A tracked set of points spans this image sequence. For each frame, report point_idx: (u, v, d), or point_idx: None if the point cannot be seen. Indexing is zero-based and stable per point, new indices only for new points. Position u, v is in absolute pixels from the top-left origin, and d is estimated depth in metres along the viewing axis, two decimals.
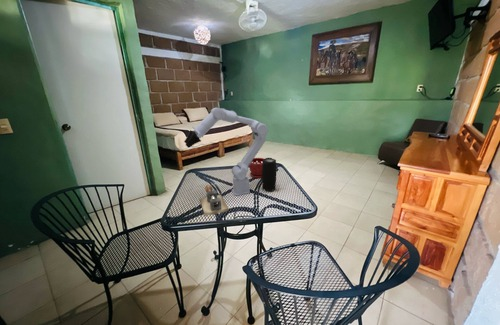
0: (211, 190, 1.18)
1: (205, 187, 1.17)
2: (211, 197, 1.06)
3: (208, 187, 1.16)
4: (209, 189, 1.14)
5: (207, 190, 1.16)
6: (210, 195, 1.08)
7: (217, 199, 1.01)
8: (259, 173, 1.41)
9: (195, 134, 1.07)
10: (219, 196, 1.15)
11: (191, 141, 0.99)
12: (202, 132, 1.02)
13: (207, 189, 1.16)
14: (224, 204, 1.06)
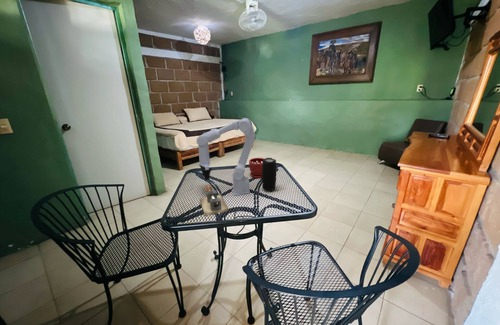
0: (211, 190, 1.18)
1: (205, 187, 1.17)
2: (211, 197, 1.06)
3: (208, 187, 1.16)
4: (209, 189, 1.14)
5: (207, 190, 1.16)
6: (210, 195, 1.08)
7: (217, 199, 1.01)
8: (259, 173, 1.41)
9: None
10: (219, 196, 1.15)
11: (206, 174, 1.16)
12: (206, 162, 1.15)
13: (207, 189, 1.16)
14: (224, 204, 1.06)
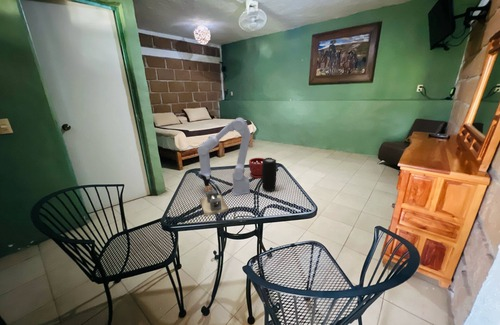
0: (211, 190, 1.18)
1: (205, 187, 1.17)
2: (211, 197, 1.06)
3: (208, 187, 1.16)
4: (209, 189, 1.14)
5: (207, 190, 1.16)
6: (210, 195, 1.08)
7: (217, 199, 1.01)
8: (259, 173, 1.41)
9: None
10: (219, 196, 1.15)
11: (206, 181, 1.21)
12: (207, 171, 1.17)
13: (207, 189, 1.16)
14: (224, 204, 1.06)
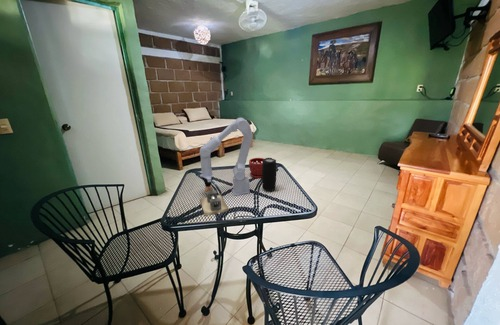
0: None
1: (205, 188, 1.16)
2: (211, 198, 1.05)
3: (208, 188, 1.16)
4: (209, 190, 1.14)
5: (207, 191, 1.15)
6: (210, 196, 1.08)
7: (217, 199, 1.01)
8: (259, 173, 1.41)
9: None
10: (219, 196, 1.15)
11: (207, 184, 1.17)
12: (209, 173, 1.14)
13: (207, 190, 1.15)
14: (224, 204, 1.06)
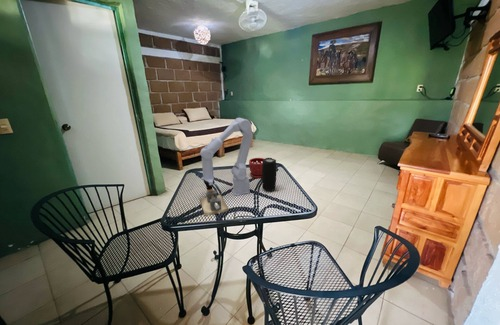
0: None
1: (207, 191, 1.12)
2: None
3: None
4: None
5: None
6: None
7: (217, 199, 1.01)
8: (259, 173, 1.41)
9: None
10: (219, 196, 1.15)
11: (209, 187, 1.13)
12: (210, 176, 1.10)
13: None
14: (224, 204, 1.06)
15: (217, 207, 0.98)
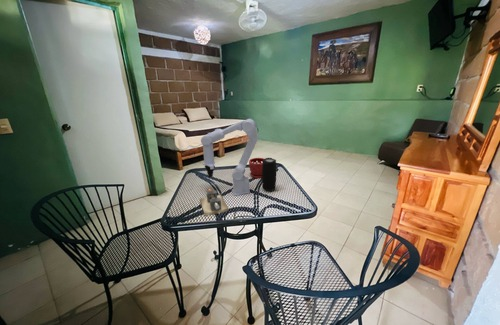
0: None
1: (207, 191, 1.12)
2: None
3: None
4: None
5: None
6: None
7: (217, 199, 1.01)
8: (259, 173, 1.41)
9: None
10: (219, 196, 1.15)
11: (209, 172, 1.20)
12: (211, 161, 1.17)
13: None
14: (224, 204, 1.06)
15: (217, 207, 0.98)
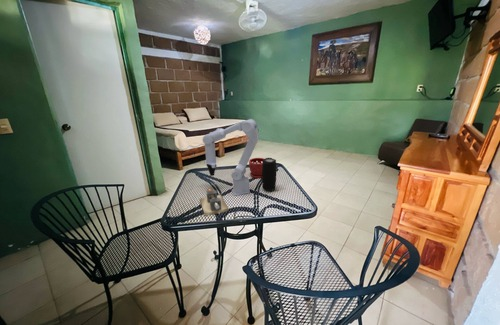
0: None
1: (207, 191, 1.12)
2: None
3: None
4: None
5: None
6: None
7: (217, 199, 1.01)
8: (259, 173, 1.41)
9: None
10: (219, 196, 1.15)
11: (211, 170, 1.22)
12: (213, 160, 1.19)
13: None
14: (224, 204, 1.06)
15: (217, 207, 0.98)
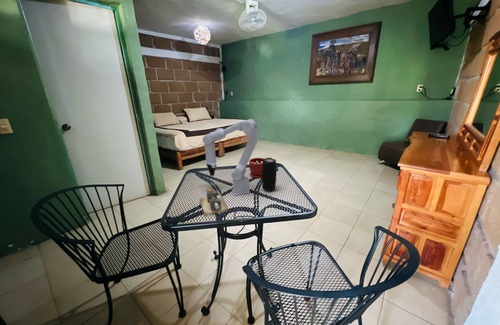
0: None
1: (207, 191, 1.12)
2: None
3: None
4: None
5: None
6: None
7: (217, 199, 1.01)
8: (259, 173, 1.41)
9: None
10: (219, 196, 1.15)
11: (211, 170, 1.22)
12: (213, 160, 1.19)
13: None
14: (224, 204, 1.06)
15: (217, 207, 0.98)
